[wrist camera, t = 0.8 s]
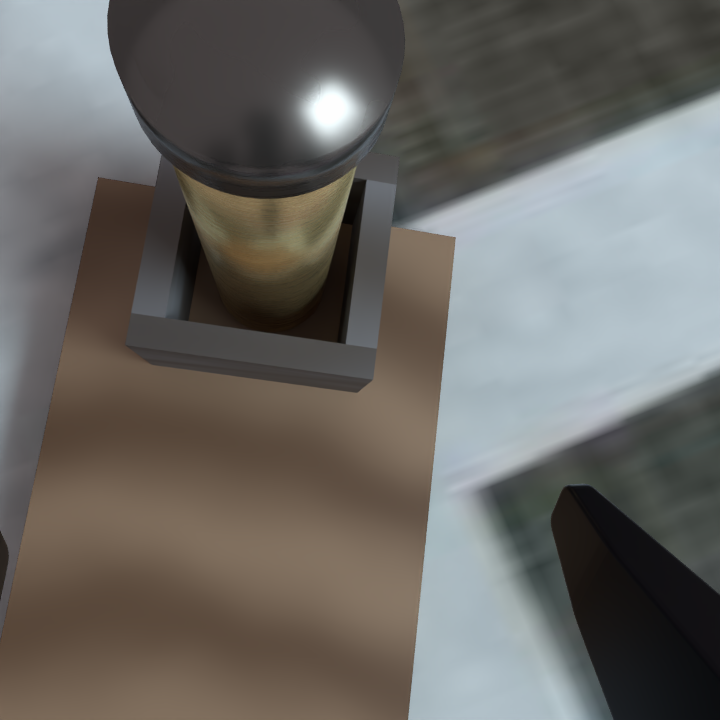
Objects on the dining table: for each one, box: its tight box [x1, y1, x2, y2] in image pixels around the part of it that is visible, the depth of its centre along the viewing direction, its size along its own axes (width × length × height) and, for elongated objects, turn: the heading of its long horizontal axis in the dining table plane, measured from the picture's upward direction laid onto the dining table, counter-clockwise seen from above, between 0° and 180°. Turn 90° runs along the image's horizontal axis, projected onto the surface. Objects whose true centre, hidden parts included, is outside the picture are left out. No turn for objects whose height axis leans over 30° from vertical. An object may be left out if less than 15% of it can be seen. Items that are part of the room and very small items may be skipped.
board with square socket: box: [0, 152, 456, 720], centre depth 21 cm, size 21×14×6 cm
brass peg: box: [107, 0, 405, 333], centre depth 16 cm, size 5×5×14 cm
